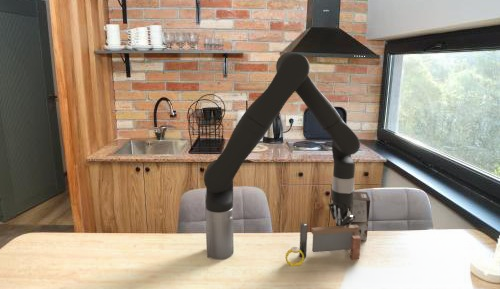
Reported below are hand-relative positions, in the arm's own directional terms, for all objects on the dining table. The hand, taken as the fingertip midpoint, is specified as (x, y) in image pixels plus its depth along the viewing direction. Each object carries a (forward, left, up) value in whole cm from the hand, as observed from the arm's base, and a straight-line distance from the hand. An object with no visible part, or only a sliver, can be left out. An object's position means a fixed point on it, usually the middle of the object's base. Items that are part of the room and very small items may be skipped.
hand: (339, 233), depth 124 cm
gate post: (-15, -6, -5) cm, 16 cm away
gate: (-3, -5, -4) cm, 7 cm away
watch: (-18, -10, -6) cm, 22 cm away
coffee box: (+10, +8, -6) cm, 14 cm away
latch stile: (+3, -8, -5) cm, 10 cm away
